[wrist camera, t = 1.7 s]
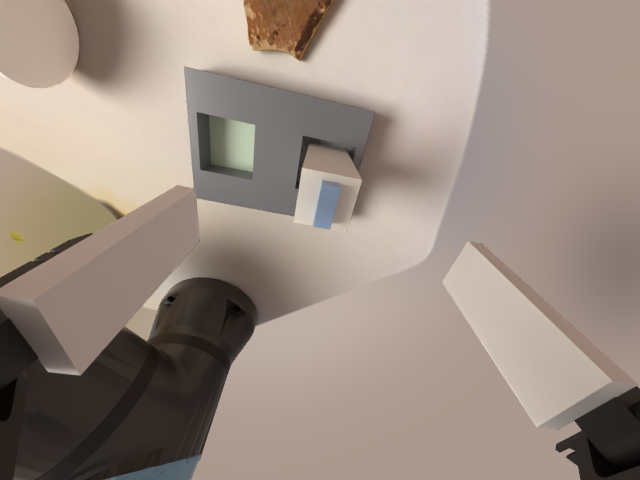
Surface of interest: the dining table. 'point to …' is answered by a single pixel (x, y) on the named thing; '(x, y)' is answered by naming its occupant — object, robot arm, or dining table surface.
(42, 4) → the mug
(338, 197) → the plug
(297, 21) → the shard
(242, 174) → the panel
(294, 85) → the dining table surface
